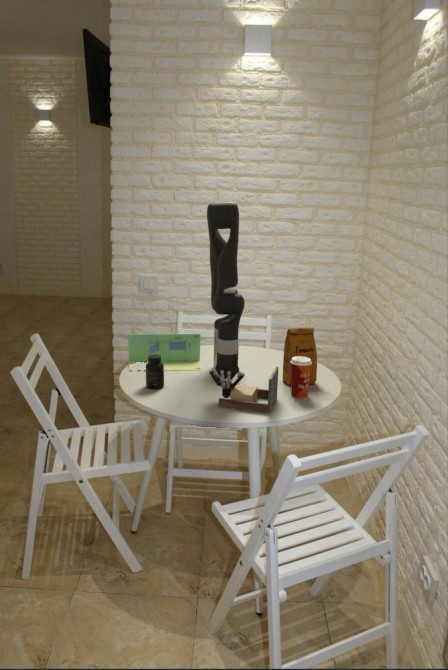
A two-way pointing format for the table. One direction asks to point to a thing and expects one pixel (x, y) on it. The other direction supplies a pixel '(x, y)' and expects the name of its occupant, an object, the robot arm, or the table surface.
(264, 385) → the table surface
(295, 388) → the paper cup
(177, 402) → the table surface
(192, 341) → the display stand
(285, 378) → the coffee package
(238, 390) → the carton
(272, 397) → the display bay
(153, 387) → the supplement bottle
